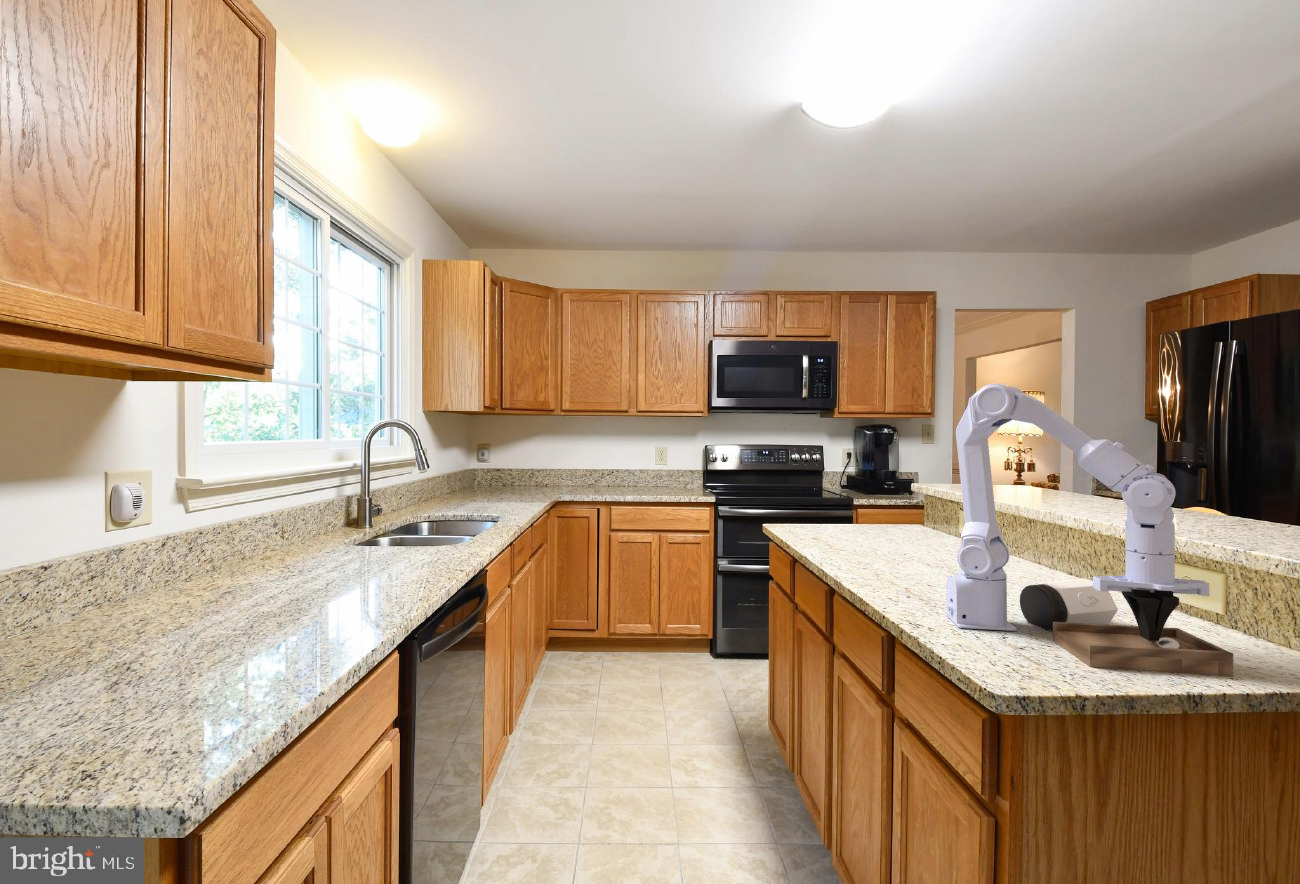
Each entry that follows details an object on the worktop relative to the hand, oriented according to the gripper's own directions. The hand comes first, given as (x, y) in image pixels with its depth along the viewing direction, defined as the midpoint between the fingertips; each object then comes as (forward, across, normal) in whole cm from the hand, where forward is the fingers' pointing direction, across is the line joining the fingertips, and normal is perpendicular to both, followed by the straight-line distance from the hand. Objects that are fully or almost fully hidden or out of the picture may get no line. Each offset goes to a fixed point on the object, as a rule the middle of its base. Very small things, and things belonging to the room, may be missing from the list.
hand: (1149, 638), depth 87 cm
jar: (-1, +1, +17) cm, 17 cm away
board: (+3, -2, 0) cm, 3 cm away
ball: (+1, +2, 0) cm, 3 cm away
